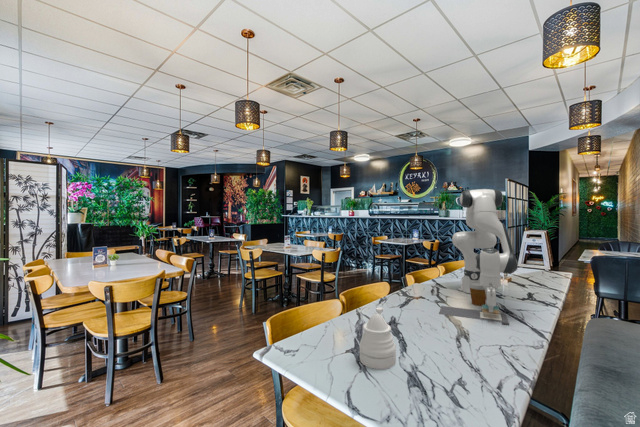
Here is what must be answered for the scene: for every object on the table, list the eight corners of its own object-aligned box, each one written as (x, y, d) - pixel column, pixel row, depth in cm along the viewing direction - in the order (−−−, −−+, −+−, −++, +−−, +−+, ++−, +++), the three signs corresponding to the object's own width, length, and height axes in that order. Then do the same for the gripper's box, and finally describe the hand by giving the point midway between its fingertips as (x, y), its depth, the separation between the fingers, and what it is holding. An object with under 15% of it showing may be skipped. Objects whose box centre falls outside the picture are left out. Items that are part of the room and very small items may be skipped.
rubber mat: (441, 307, 163) (441, 305, 163) (506, 315, 149) (506, 313, 149) (438, 315, 150) (438, 313, 150) (508, 325, 137) (508, 323, 137)
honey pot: (370, 348, 117) (370, 302, 117) (402, 358, 109) (401, 308, 108) (352, 361, 107) (352, 311, 107) (385, 373, 99) (384, 318, 98)
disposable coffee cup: (483, 303, 170) (483, 282, 169) (491, 308, 160) (491, 286, 160) (466, 302, 170) (465, 281, 170) (473, 308, 161) (472, 286, 161)
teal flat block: (498, 311, 147) (498, 306, 147) (499, 314, 142) (499, 309, 142) (482, 309, 150) (482, 304, 150) (482, 312, 145) (482, 307, 145)
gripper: (499, 287, 135) (499, 317, 135) (496, 278, 153) (496, 304, 153) (483, 286, 138) (483, 315, 138) (482, 277, 156) (482, 303, 156)
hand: (490, 310), depth 146 cm, fingers closed on teal flat block, 5 cm apart
